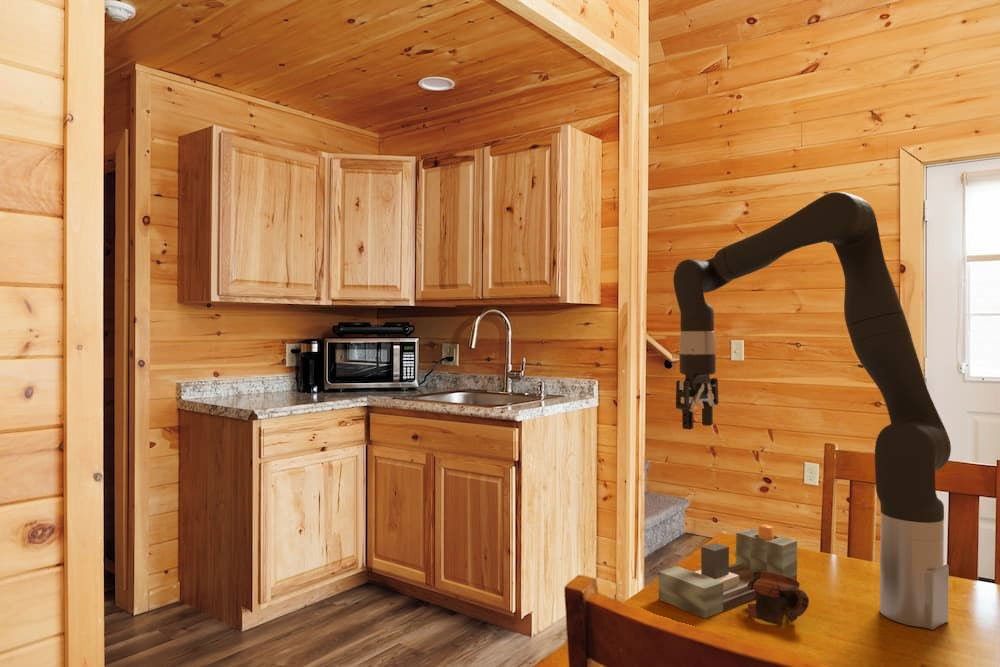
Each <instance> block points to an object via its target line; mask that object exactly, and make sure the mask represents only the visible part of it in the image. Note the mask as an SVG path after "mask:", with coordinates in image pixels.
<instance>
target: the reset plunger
mask: <svg viewBox="0 0 1000 667" xmlns="http://www.w3.org/2000/svg"><path fill="white" fill-rule="evenodd" d="M758 530H759V532H758V538H761V539H765V540H768V541H770V540H773V539H774V535H775V533H774V532H775V528H774V526H773V525H770V524H758Z"/></svg>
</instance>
